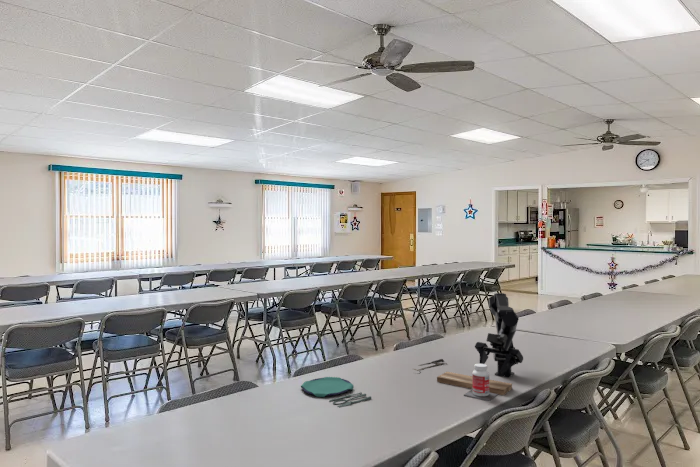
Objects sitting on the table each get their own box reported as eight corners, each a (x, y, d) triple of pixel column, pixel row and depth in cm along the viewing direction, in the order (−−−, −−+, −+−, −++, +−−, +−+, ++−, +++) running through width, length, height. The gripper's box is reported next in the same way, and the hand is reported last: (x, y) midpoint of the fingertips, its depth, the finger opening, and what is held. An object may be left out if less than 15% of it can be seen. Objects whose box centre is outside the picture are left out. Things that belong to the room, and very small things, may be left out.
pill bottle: (487, 398, 179) (486, 368, 179) (470, 395, 182) (470, 366, 182) (491, 392, 184) (490, 363, 184) (475, 390, 187) (474, 362, 187)
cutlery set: (335, 378, 207) (335, 373, 207) (376, 400, 182) (376, 394, 182) (293, 388, 196) (293, 382, 196) (331, 412, 171) (330, 406, 171)
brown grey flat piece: (447, 376, 207) (447, 371, 207) (512, 388, 190) (512, 383, 190) (426, 387, 193) (426, 382, 193) (494, 402, 176) (494, 396, 176)
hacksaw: (441, 361, 232) (441, 358, 232) (456, 366, 223) (456, 363, 223) (401, 369, 220) (401, 366, 220) (415, 375, 211) (415, 371, 211)
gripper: (476, 322, 198) (461, 354, 191) (519, 328, 185) (504, 363, 177) (487, 338, 204) (473, 369, 197) (529, 345, 190) (515, 379, 183)
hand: (490, 370), depth 188 cm, fingers open, 9 cm apart
